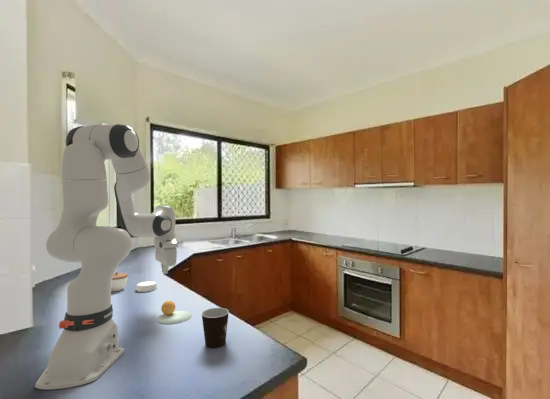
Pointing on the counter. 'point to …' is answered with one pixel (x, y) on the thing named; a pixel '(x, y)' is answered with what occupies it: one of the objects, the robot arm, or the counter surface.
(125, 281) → the lidded jar
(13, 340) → the counter surface
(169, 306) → the ball
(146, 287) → the white round disc
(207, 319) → the coffee mug
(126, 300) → the counter surface
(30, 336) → the counter surface
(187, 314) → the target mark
